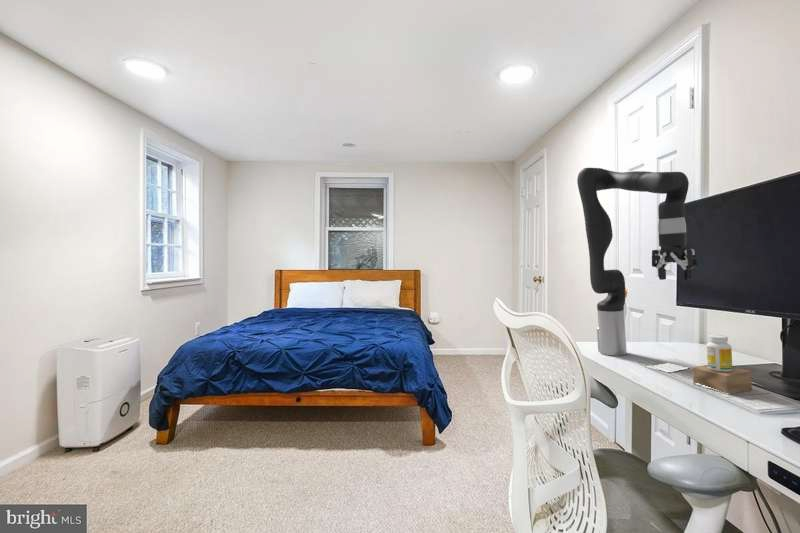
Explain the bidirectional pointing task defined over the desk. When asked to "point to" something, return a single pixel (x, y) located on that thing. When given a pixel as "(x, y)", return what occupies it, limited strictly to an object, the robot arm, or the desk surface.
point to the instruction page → (650, 367)
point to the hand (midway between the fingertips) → (674, 280)
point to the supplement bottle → (719, 353)
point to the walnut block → (723, 379)
